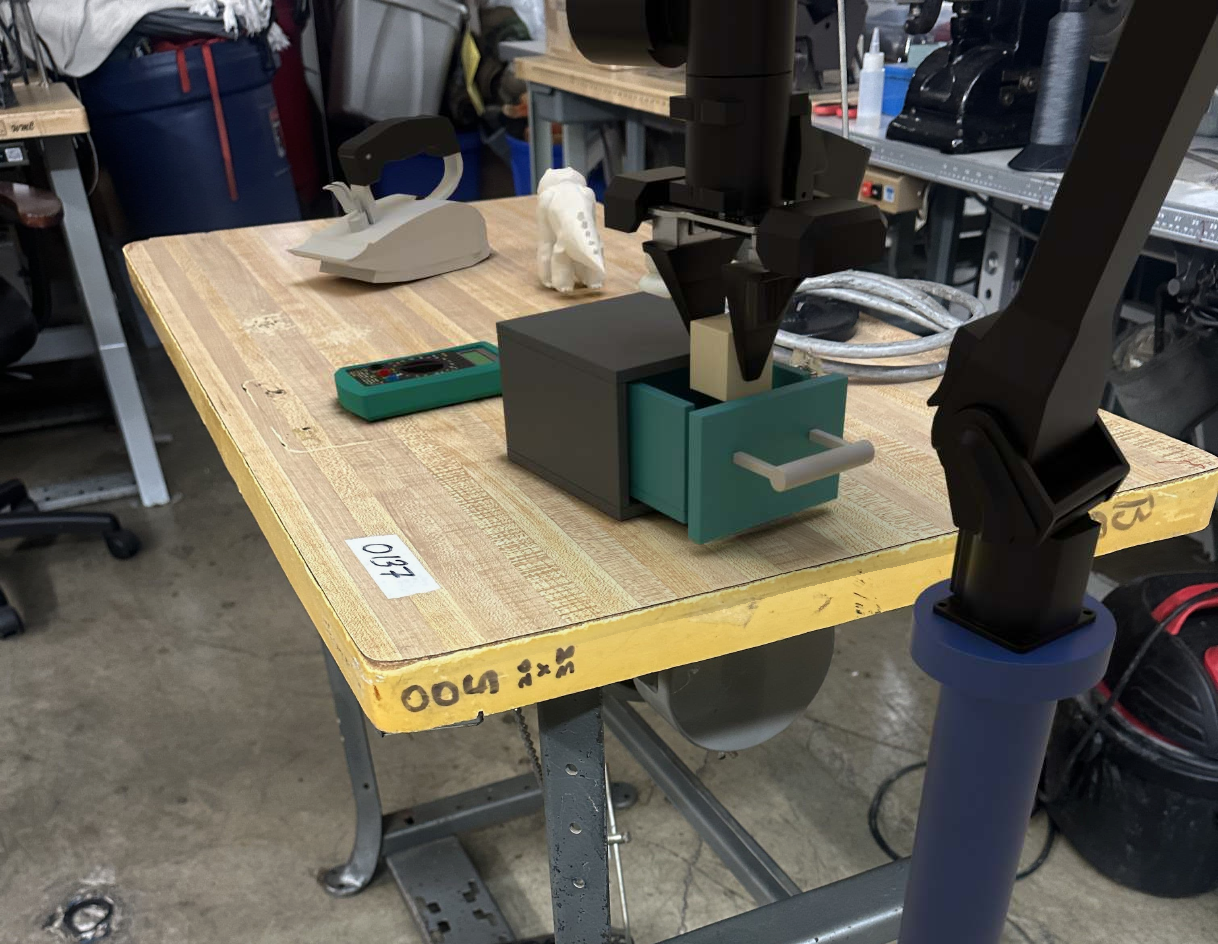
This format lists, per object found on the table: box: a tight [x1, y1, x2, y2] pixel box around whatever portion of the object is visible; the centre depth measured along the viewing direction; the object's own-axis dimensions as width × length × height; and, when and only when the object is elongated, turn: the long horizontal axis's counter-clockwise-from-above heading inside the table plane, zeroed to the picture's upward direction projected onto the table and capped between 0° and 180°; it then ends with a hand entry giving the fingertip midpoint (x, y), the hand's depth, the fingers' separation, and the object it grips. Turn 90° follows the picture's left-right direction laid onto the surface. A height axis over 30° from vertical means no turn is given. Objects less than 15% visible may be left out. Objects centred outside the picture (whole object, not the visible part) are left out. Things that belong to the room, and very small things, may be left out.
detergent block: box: [690, 311, 775, 402], centre depth 71 cm, size 4×4×4 cm
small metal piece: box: [789, 346, 824, 379], centre depth 96 cm, size 6×2×3 cm, turn 22°
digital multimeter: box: [333, 340, 502, 422], centre depth 97 cm, size 7×15×3 cm, turn 119°
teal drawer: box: [626, 359, 876, 545], centre depth 74 cm, size 18×11×8 cm, turn 34°
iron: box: [285, 114, 492, 284], centre depth 130 cm, size 11×24×15 cm, turn 139°
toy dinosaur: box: [535, 166, 607, 294], centre depth 120 cm, size 7×24×11 cm, turn 15°
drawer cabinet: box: [495, 291, 690, 522], centre depth 81 cm, size 15×13×10 cm
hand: (730, 372), depth 71 cm, fingers closed on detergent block, 3 cm apart
